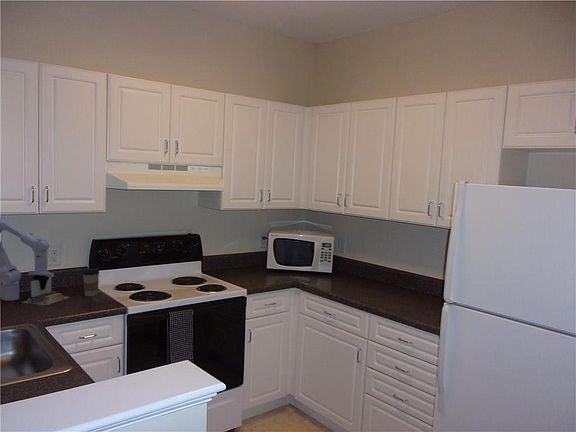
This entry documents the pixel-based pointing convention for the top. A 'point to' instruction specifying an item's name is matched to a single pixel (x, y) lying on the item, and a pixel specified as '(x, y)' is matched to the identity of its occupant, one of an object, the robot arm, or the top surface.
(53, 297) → the offcut upper
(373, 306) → the top surface
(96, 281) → the coffee cup
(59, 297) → the offcut lower
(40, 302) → the rack
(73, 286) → the top surface
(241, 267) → the top surface
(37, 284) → the sheet
